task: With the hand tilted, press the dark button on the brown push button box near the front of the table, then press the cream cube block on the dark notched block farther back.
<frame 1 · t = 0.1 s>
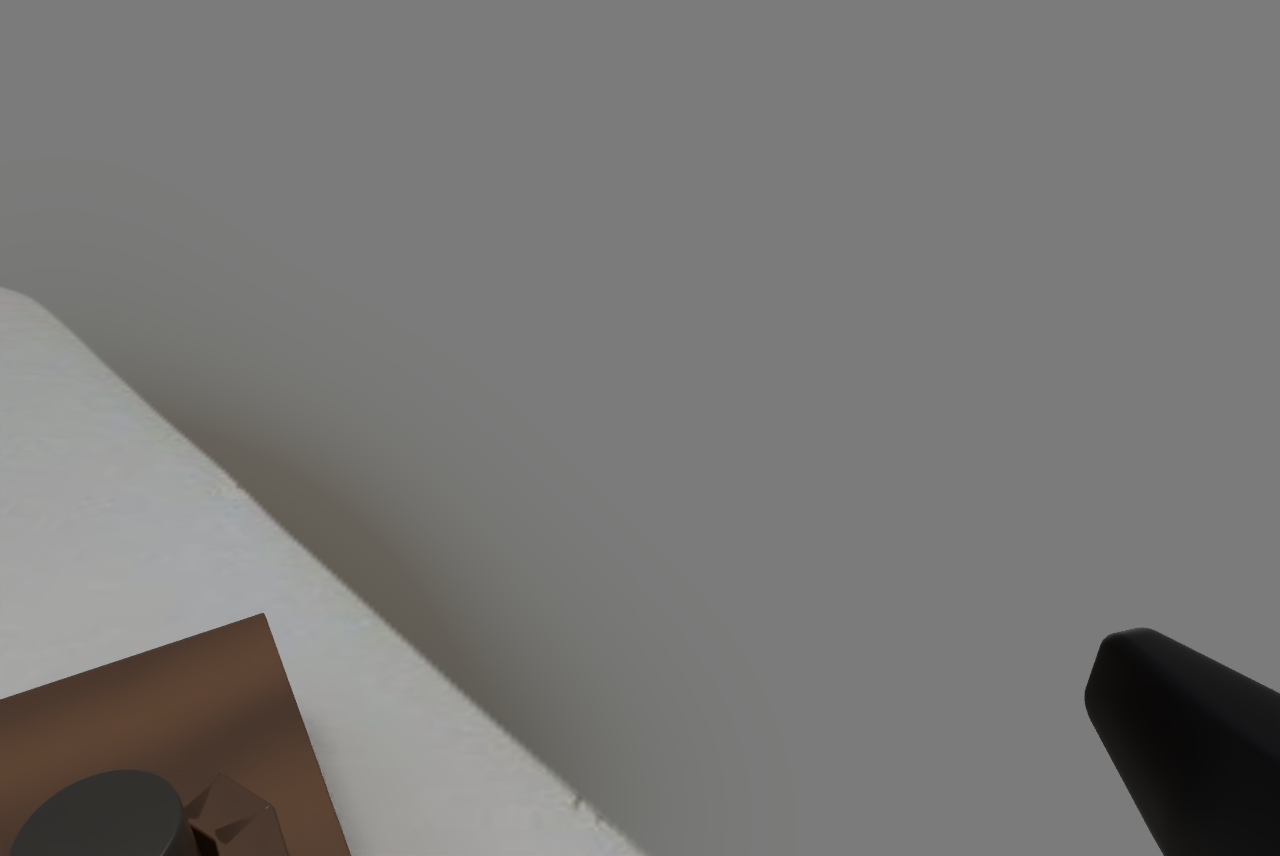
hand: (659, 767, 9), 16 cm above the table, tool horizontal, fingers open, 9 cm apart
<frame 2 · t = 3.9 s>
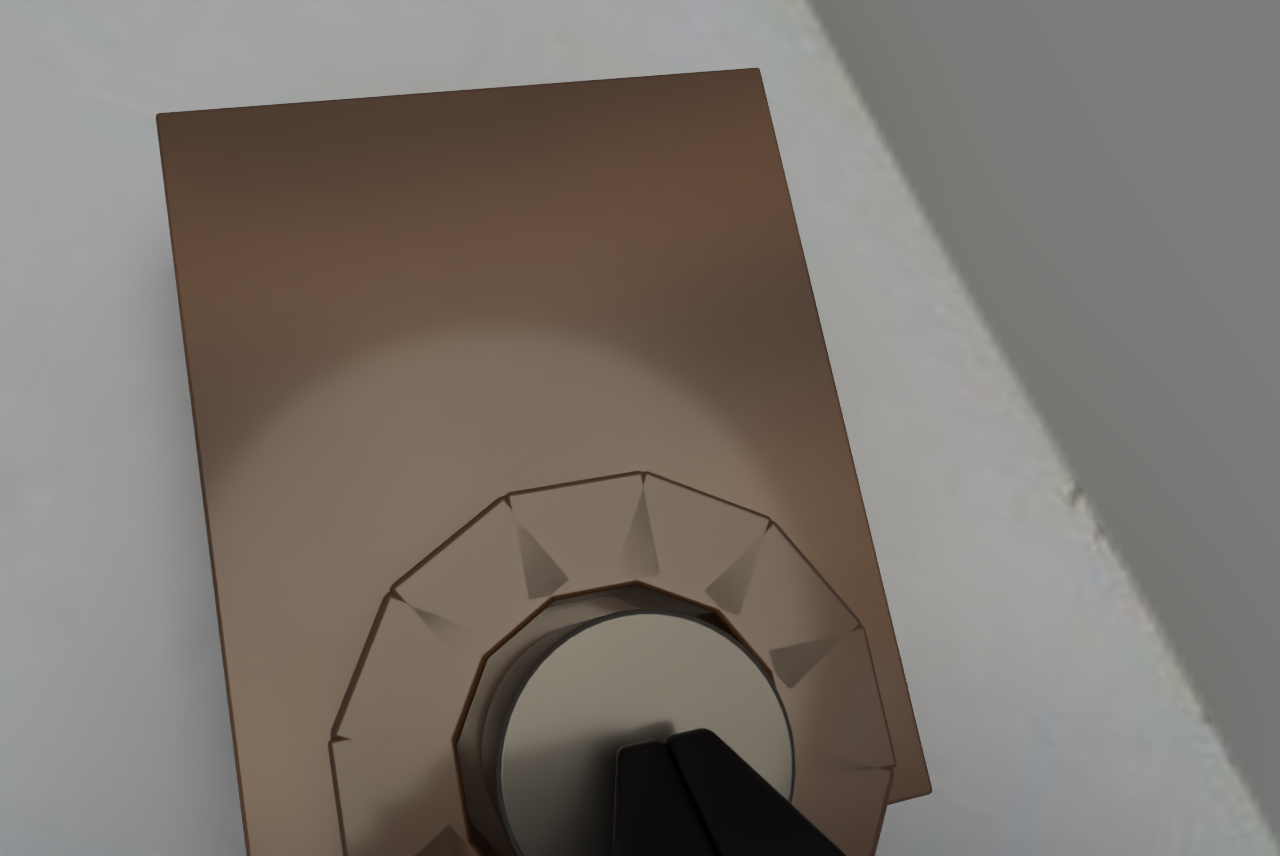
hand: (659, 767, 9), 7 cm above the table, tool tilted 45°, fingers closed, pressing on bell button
brown push button box: (516, 504, 17), on the table
bell button: (627, 754, 11), point 6 cm above the table, slide at -0.7 cm, touching gripper
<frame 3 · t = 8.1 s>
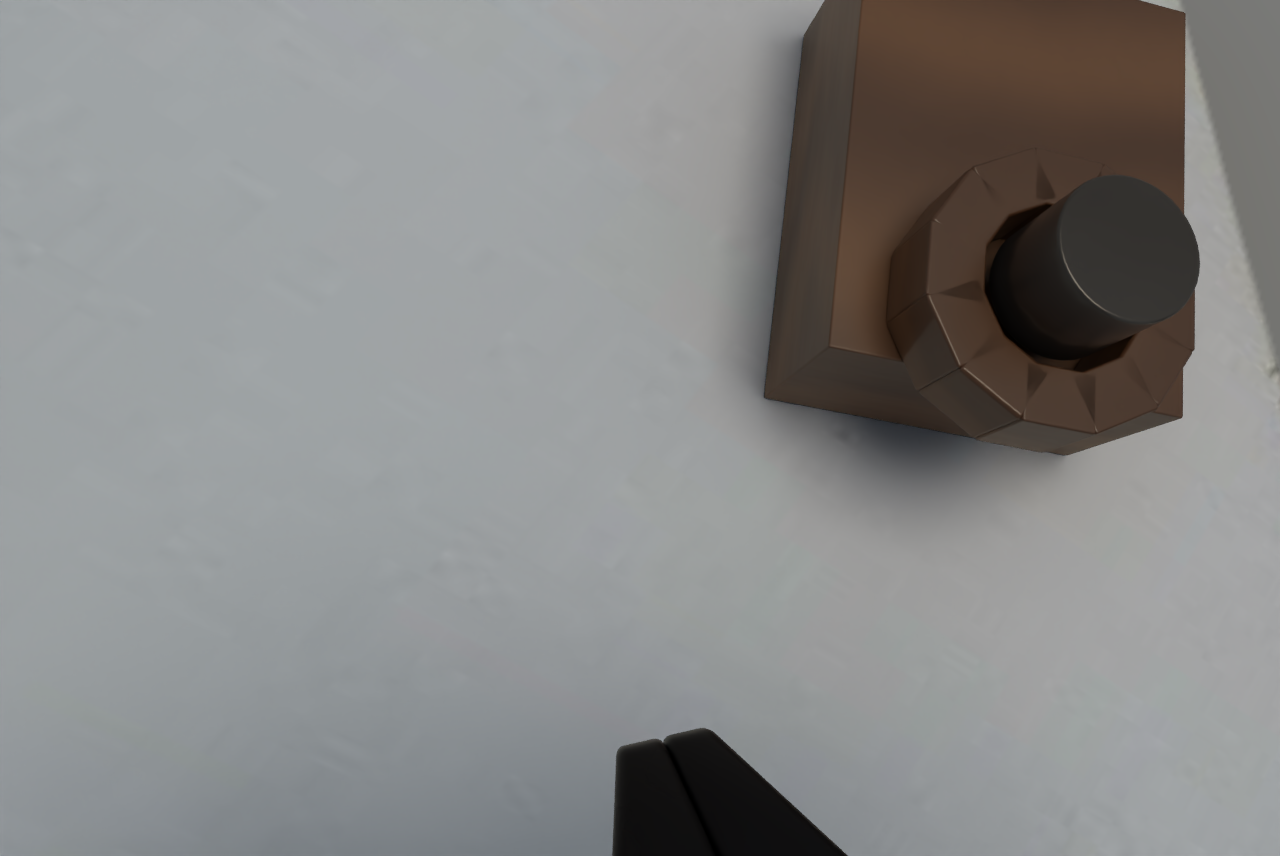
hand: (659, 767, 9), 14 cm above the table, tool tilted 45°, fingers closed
brown push button box: (932, 240, 27), on the table
bell button: (1089, 271, 19), point 7 cm above the table, slide at 0.1 cm
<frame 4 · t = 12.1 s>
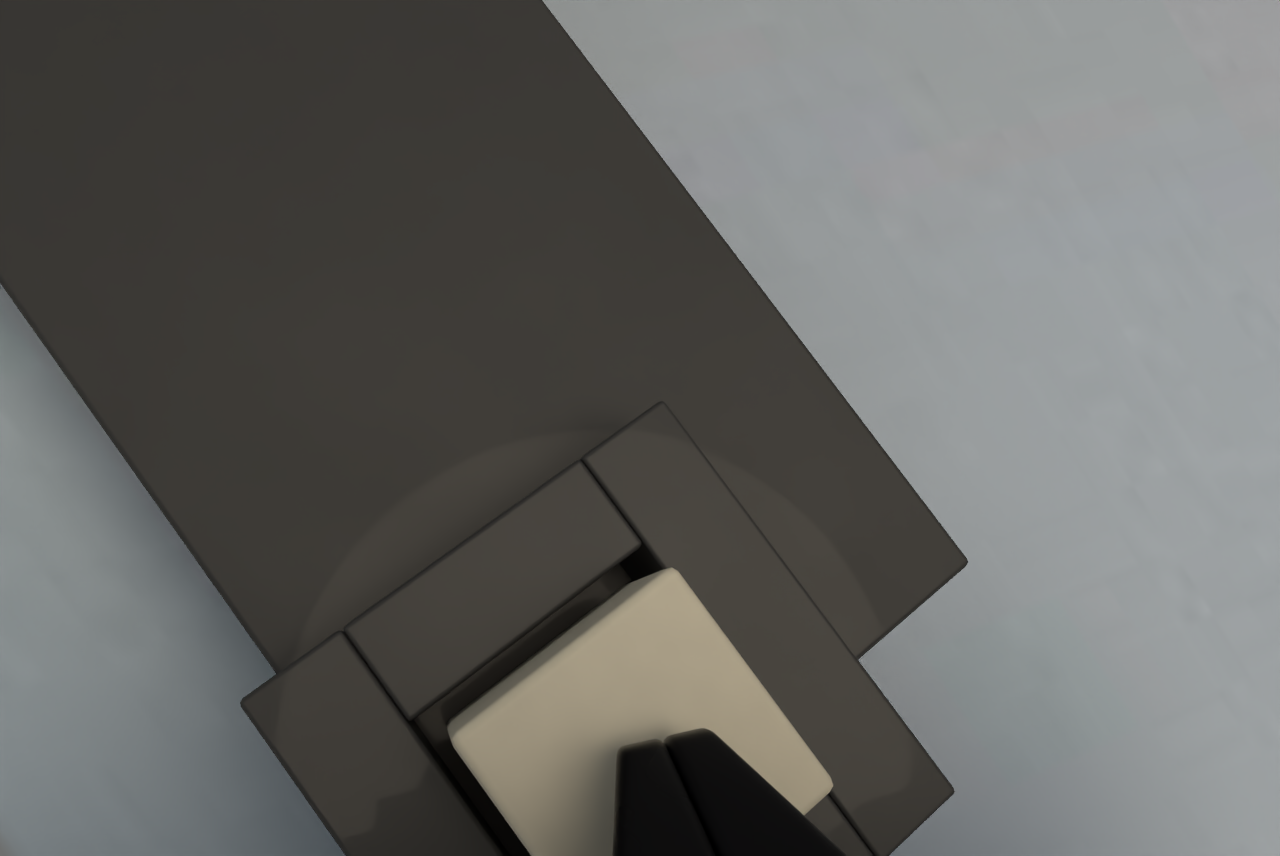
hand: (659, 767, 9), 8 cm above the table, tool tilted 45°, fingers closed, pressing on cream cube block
dark notched block: (356, 295, 18), on the table
cream cube block: (626, 753, 11), point 6 cm above the table, slide at -0.2 cm, touching gripper
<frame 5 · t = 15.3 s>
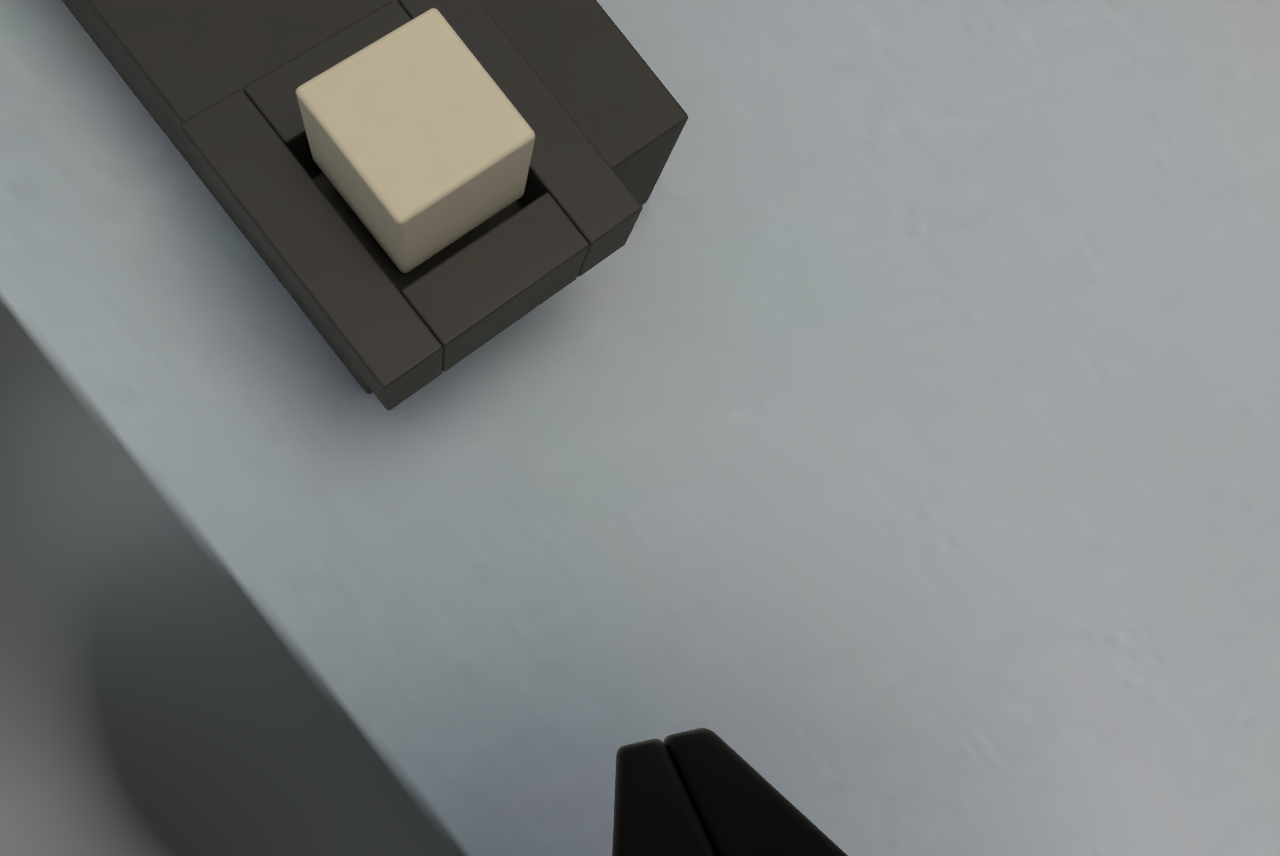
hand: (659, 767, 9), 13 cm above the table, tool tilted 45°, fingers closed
cream cube block: (418, 146, 17), point 7 cm above the table, slide at 0.1 cm
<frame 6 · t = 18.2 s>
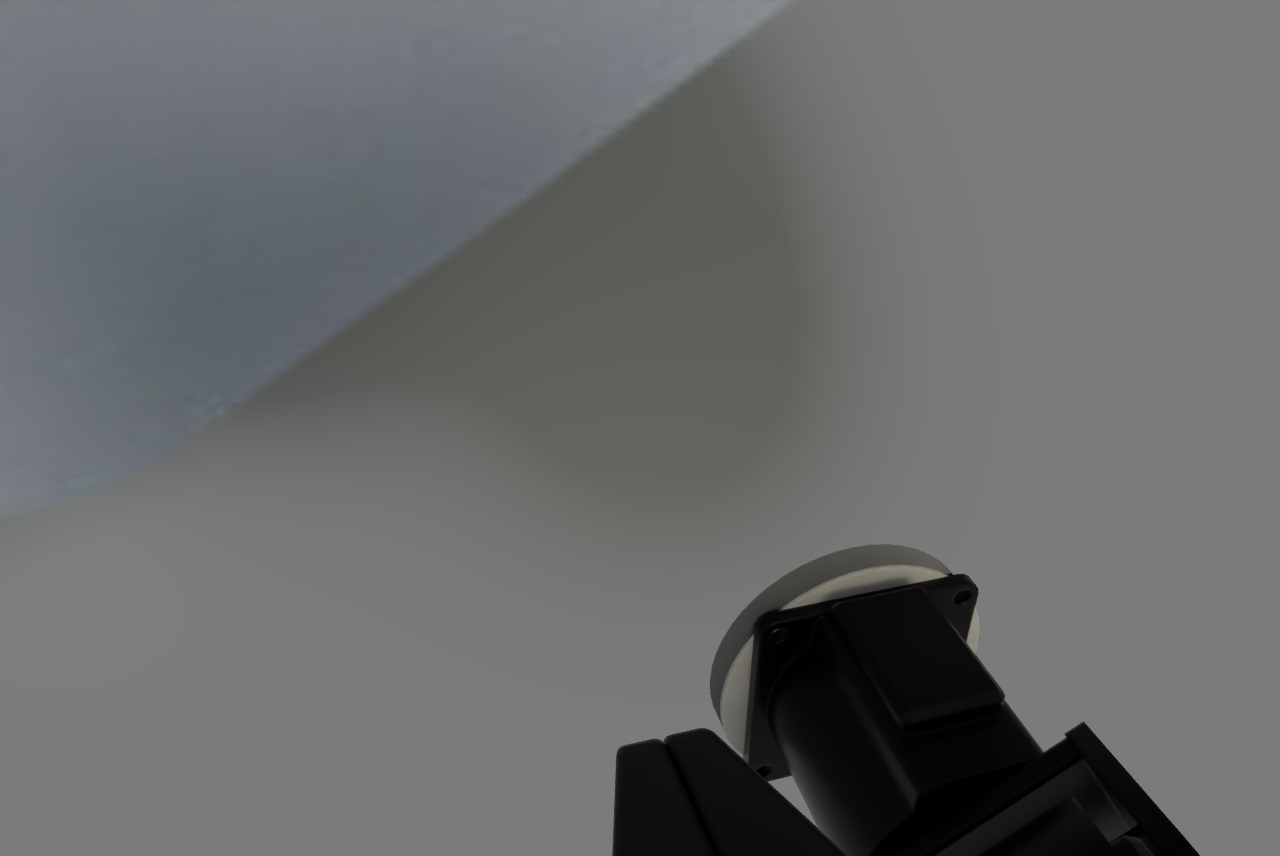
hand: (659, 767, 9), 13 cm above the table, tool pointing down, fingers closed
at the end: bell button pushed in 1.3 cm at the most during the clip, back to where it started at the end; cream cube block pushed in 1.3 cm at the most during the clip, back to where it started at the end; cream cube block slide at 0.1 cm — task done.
